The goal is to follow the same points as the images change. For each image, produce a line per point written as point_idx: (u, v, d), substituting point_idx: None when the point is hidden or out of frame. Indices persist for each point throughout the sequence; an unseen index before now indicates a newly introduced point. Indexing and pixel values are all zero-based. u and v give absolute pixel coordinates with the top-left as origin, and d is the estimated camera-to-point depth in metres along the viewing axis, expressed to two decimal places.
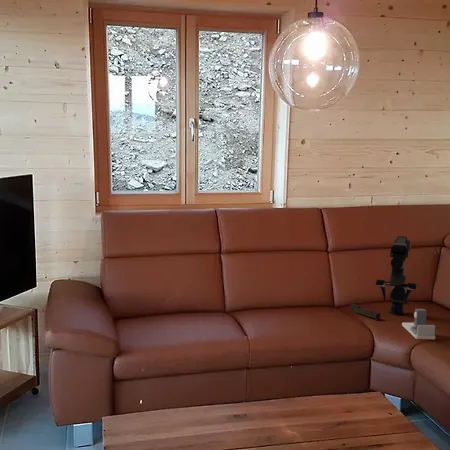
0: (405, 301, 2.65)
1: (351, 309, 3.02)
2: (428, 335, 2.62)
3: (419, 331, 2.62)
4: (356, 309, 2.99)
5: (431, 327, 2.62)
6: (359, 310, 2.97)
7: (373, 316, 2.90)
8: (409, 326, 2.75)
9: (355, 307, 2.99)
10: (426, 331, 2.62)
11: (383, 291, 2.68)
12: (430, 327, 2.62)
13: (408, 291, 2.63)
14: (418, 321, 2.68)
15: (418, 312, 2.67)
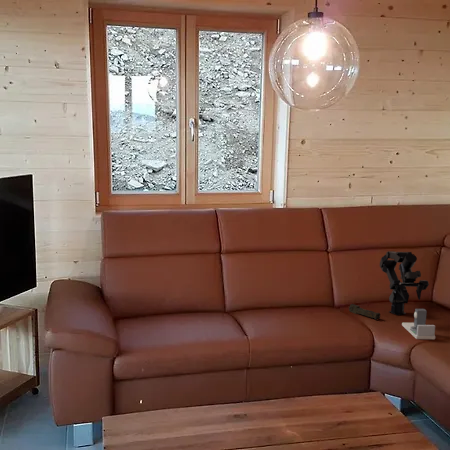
0: (420, 296, 2.80)
1: (350, 309, 3.02)
2: (428, 335, 2.62)
3: (419, 331, 2.62)
4: (355, 309, 2.98)
5: (431, 327, 2.62)
6: (358, 311, 2.97)
7: (373, 316, 2.89)
8: (409, 326, 2.75)
9: (355, 307, 2.98)
10: (426, 331, 2.62)
11: (402, 290, 2.82)
12: (430, 327, 2.62)
13: (421, 287, 2.82)
14: (418, 321, 2.68)
15: (418, 312, 2.67)
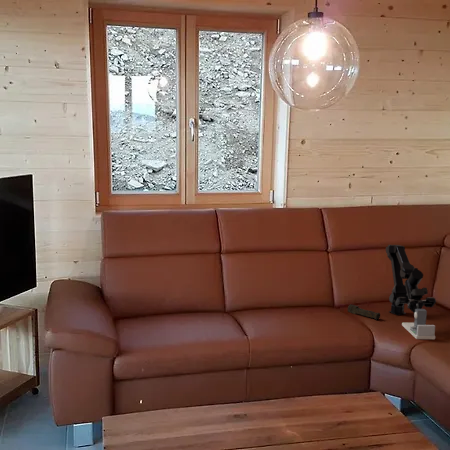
0: None
1: (349, 310, 3.01)
2: (428, 335, 2.62)
3: (419, 331, 2.62)
4: (355, 310, 2.97)
5: (431, 327, 2.62)
6: (358, 311, 2.96)
7: (373, 316, 2.89)
8: (409, 326, 2.75)
9: (354, 307, 2.98)
10: (426, 331, 2.62)
11: (415, 307, 2.73)
12: (430, 327, 2.62)
13: (420, 304, 2.73)
14: (419, 321, 2.68)
15: (418, 312, 2.67)
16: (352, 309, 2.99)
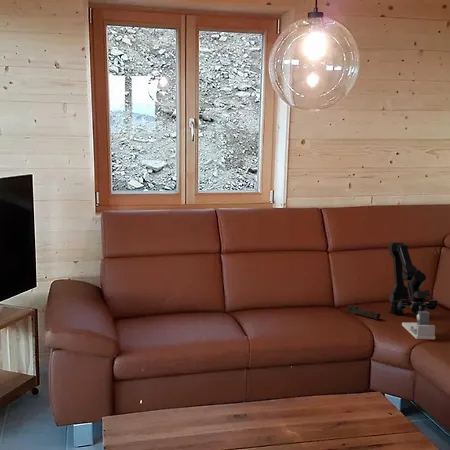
0: None
1: (348, 310, 3.00)
2: (428, 335, 2.62)
3: (419, 331, 2.62)
4: (354, 310, 2.97)
5: (431, 327, 2.62)
6: (357, 311, 2.96)
7: (373, 316, 2.89)
8: (409, 326, 2.75)
9: (353, 308, 2.97)
10: (426, 331, 2.62)
11: (418, 310, 2.70)
12: (430, 327, 2.62)
13: (423, 306, 2.70)
14: (421, 323, 2.65)
15: (421, 314, 2.64)
16: (351, 309, 2.98)
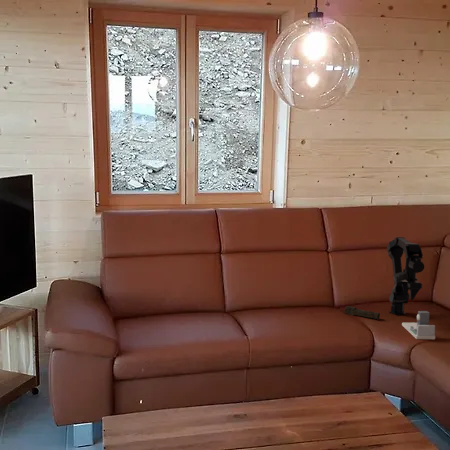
0: None
1: (346, 311, 2.98)
2: (428, 335, 2.62)
3: (419, 331, 2.62)
4: (353, 311, 2.95)
5: (431, 327, 2.62)
6: (357, 312, 2.94)
7: (374, 316, 2.89)
8: (409, 326, 2.75)
9: (352, 309, 2.95)
10: (426, 331, 2.62)
11: (402, 285, 2.90)
12: (430, 327, 2.62)
13: (409, 289, 2.79)
14: (421, 323, 2.65)
15: (421, 314, 2.64)
16: (350, 310, 2.96)
